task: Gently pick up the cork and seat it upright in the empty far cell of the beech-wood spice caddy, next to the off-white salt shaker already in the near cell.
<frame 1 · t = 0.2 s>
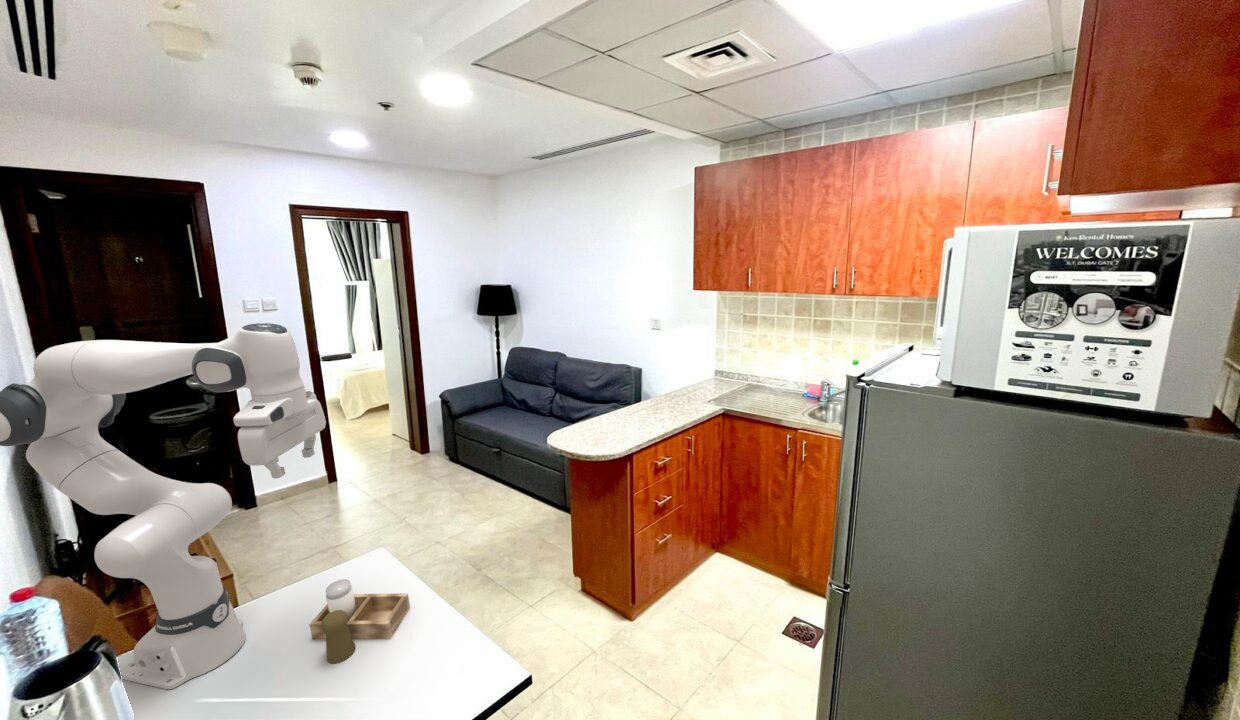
hand: (294, 466, 99), 47 cm above the table, fingers open, 8 cm apart
caddy: (363, 625, 117), on the table
salt shaker: (345, 622, 117), point 1 cm above the table, touching caddy
cork: (342, 656, 109), on the table
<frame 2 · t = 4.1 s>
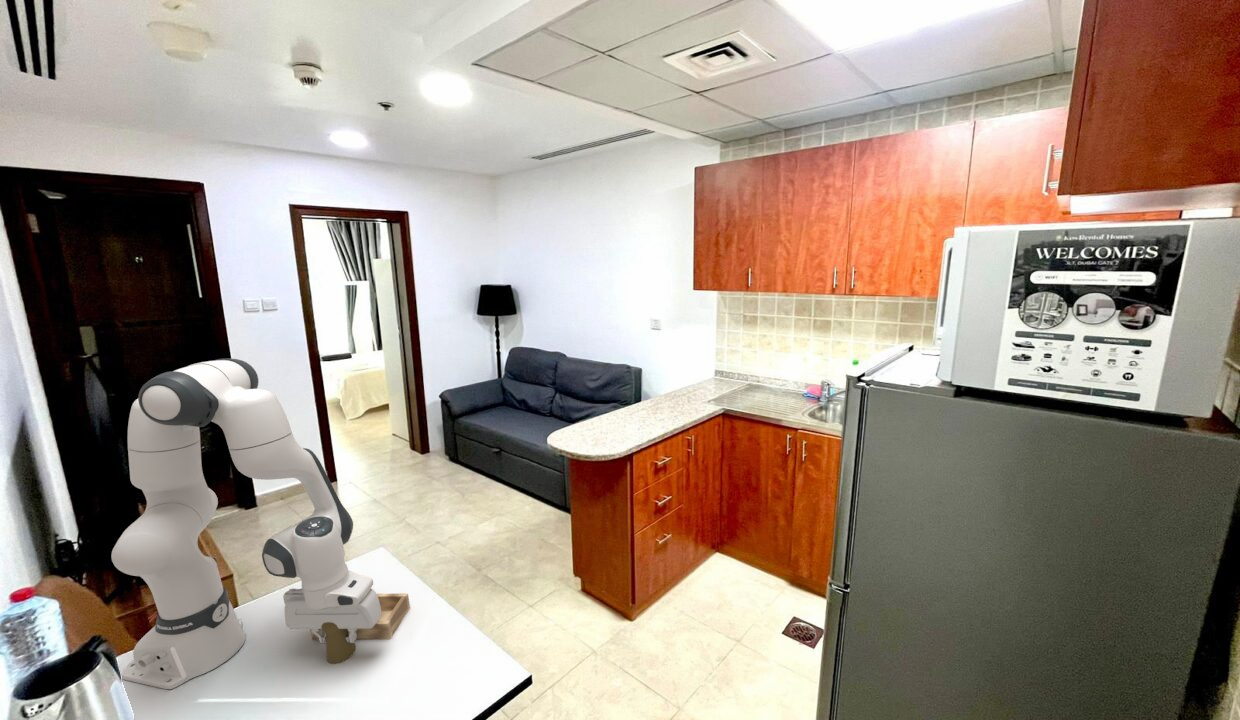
hand: (338, 640, 108), 4 cm above the table, fingers closed on cork, 5 cm apart
cork: (342, 656, 109), on the table, touching gripper
everything else where it was.
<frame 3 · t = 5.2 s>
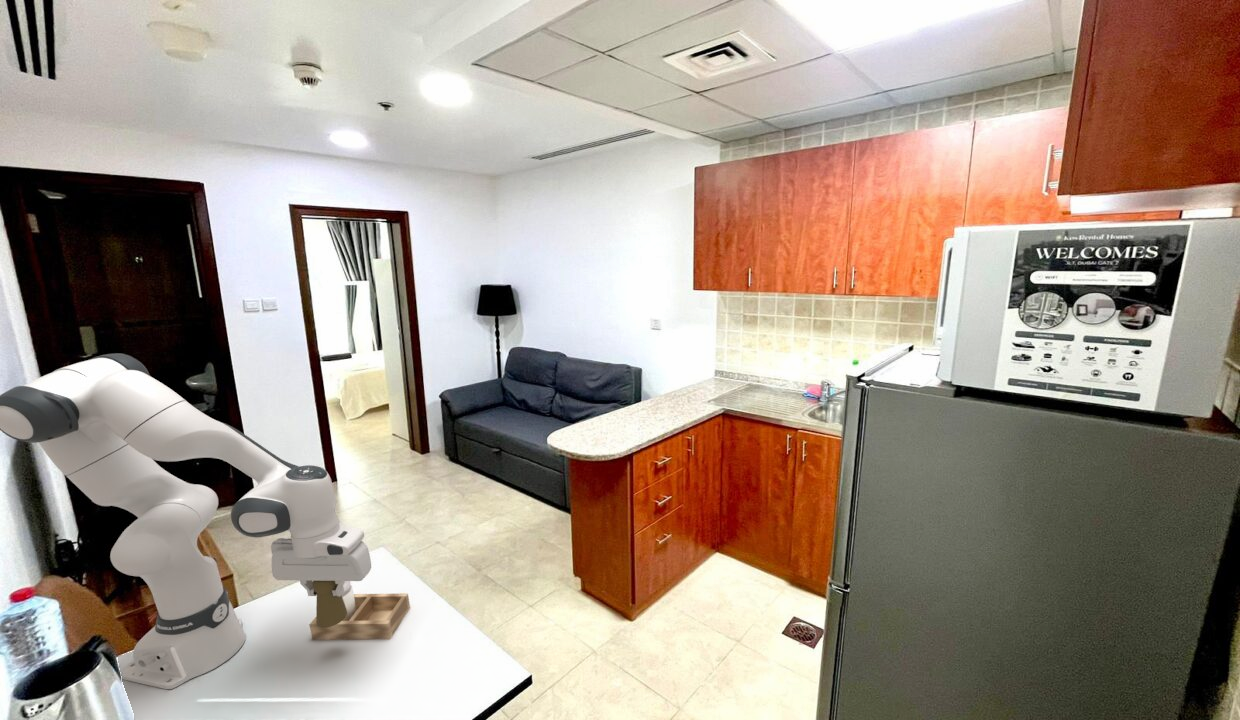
hand: (326, 594, 105), 16 cm above the table, fingers closed on cork, 4 cm apart
cork: (332, 618, 107), point 10 cm above the table, touching gripper
everything else where it was.
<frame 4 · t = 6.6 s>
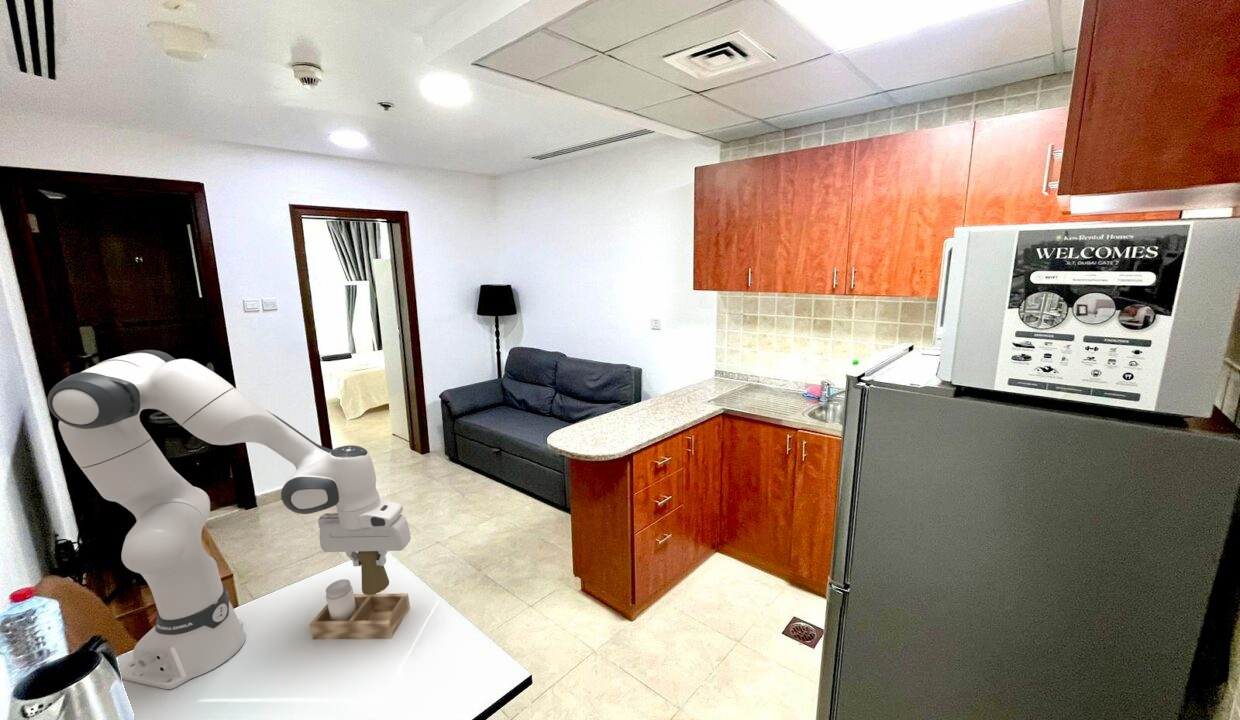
hand: (370, 564, 113), 17 cm above the table, fingers closed on cork, 4 cm apart
cork: (375, 586, 115), point 11 cm above the table, touching gripper
everything else where it was.
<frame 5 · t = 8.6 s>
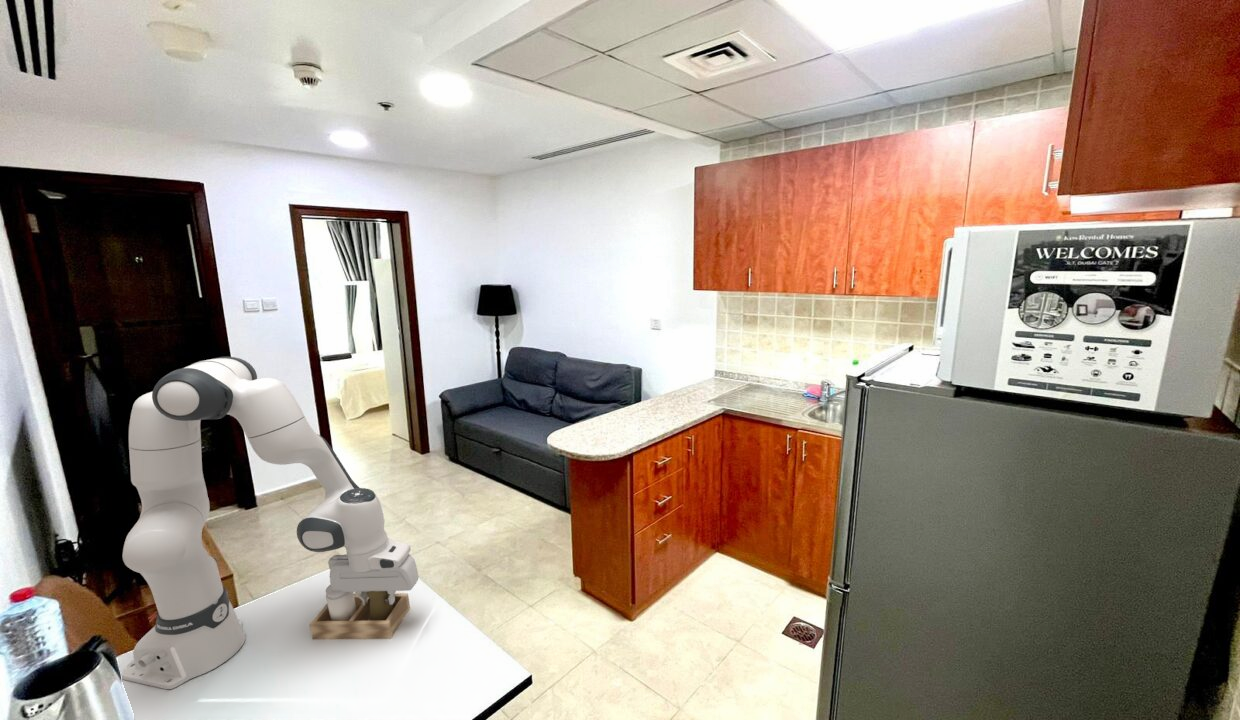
hand: (379, 603, 116), 6 cm above the table, fingers closed on cork, 4 cm apart
cork: (383, 620, 118), point 1 cm above the table, touching caddy, gripper
everything else where it was.
when the fingers open (6 cm above the table, at t = 9.3 s): cork stays where it is, resting on caddy.
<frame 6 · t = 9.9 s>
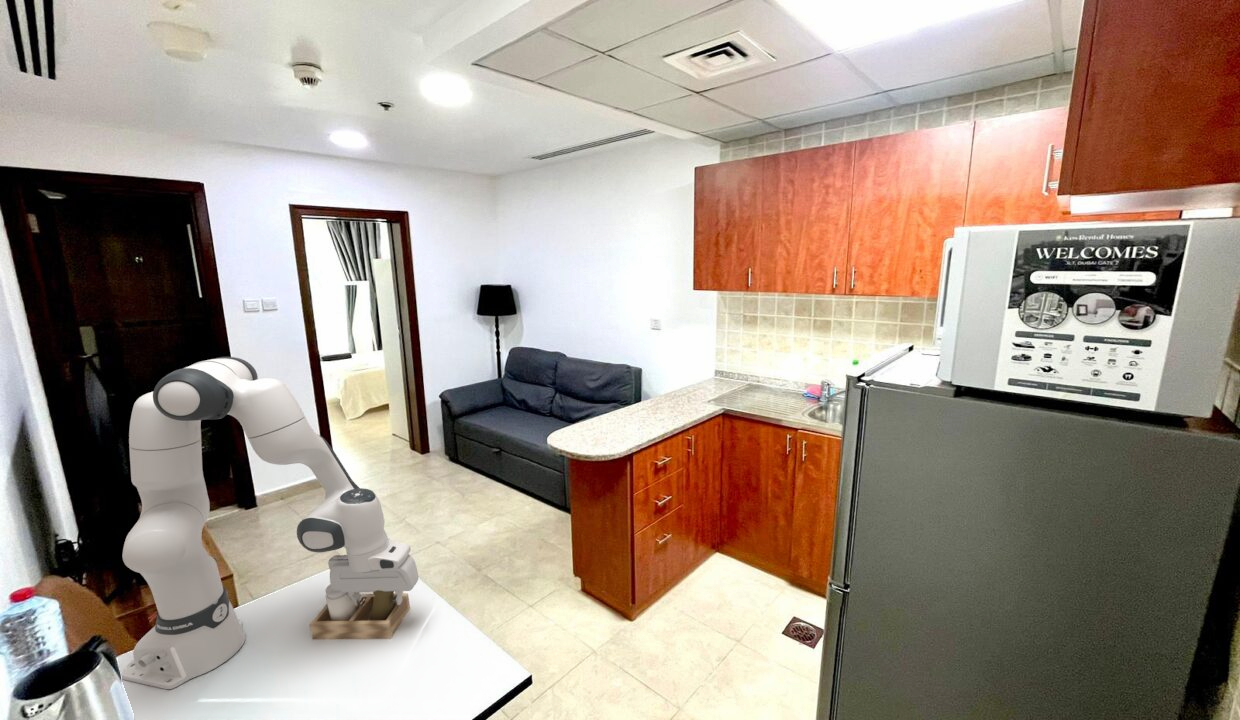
hand: (379, 603, 116), 6 cm above the table, fingers open, 8 cm apart
salt shaker: (345, 622, 117), point 1 cm above the table, touching caddy, gripper
cork: (382, 619, 117), point 1 cm above the table, touching caddy, gripper
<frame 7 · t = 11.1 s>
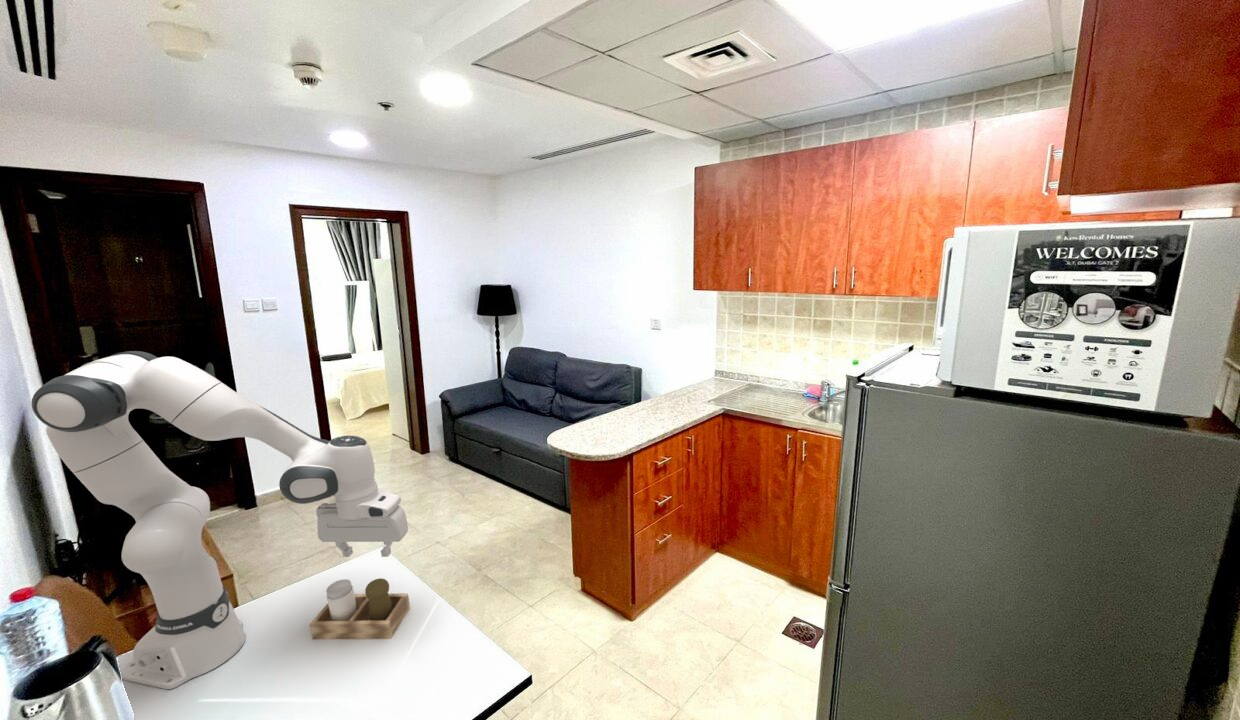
hand: (367, 555, 113), 19 cm above the table, fingers open, 8 cm apart
salt shaker: (346, 622, 117), point 1 cm above the table, touching caddy
cork: (383, 620, 118), point 1 cm above the table, touching caddy
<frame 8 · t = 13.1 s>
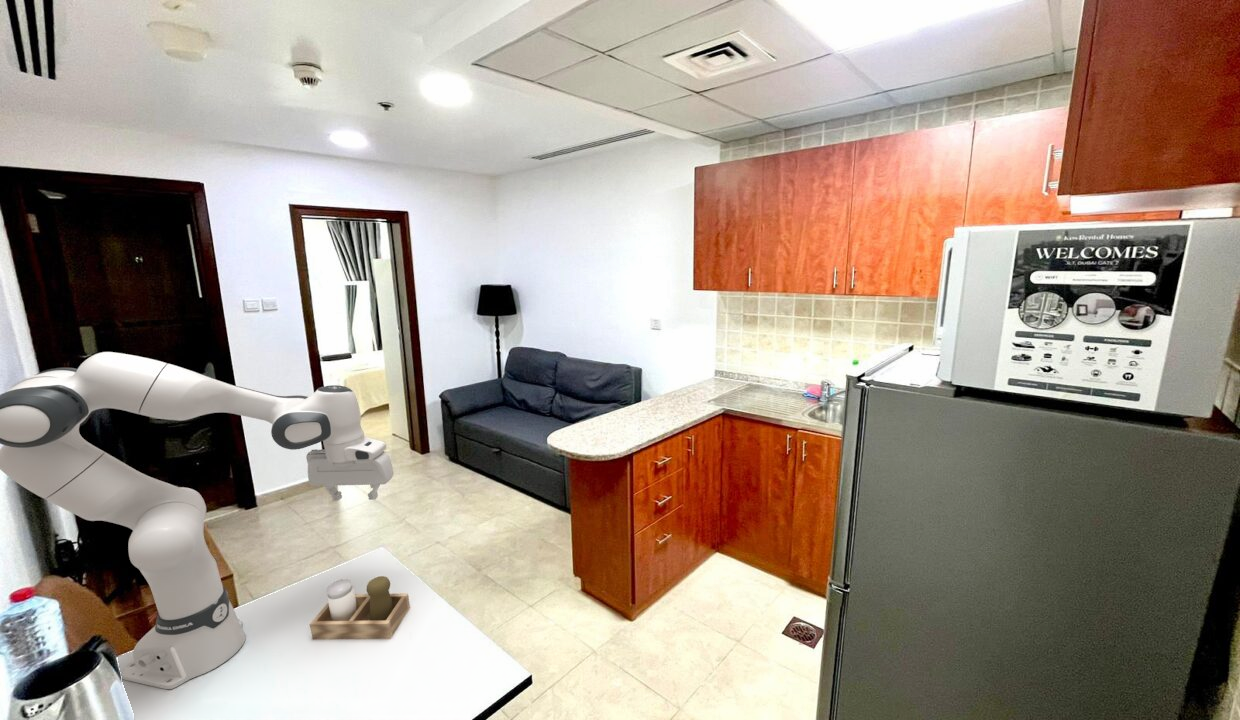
hand: (355, 499, 120), 29 cm above the table, fingers open, 8 cm apart
at the end: cork 0.6 cm from the target spot on the caddy, point 0.8 cm above the caddy's base; cork tilted 3°; the gripper is holding nothing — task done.
